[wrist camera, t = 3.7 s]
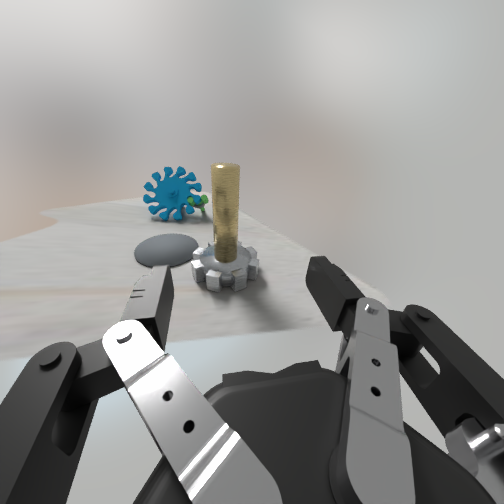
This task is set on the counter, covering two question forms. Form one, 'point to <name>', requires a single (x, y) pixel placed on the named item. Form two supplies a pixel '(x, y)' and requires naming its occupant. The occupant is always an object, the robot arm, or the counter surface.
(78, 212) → the counter surface
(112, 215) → the counter surface
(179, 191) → the blue splat disc
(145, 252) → the pad
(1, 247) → the counter surface
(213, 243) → the gear
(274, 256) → the counter surface
